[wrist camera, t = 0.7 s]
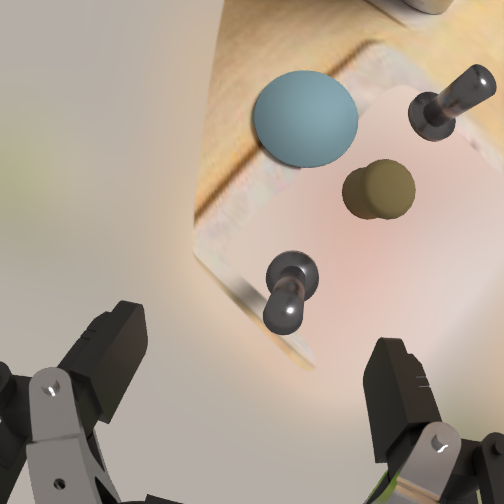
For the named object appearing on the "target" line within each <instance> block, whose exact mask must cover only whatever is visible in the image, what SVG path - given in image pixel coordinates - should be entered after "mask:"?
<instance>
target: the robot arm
mask: <svg viewBox="0 0 504 504" xmlns="http://www.w3.org/2000/svg"><path fill="white" fill-rule="evenodd" d="M403 1H404V2H406V3H407V4H409V5H410V6H412V7H413V8H415V9H418V10H420V11H423V12H426V13H430V14H440V13H443V12H445V11H446V10H447V9H448V8H449V6H450V5H451V3H452V2H453V0H403ZM147 345H148V336H147V329H146V322H145V314H144V308H143V305H142V304H138V303H133V302H128V301H120V302H119V303H118V304H117V305H116V306H115V308H114V309H113V310H112V312H107V311H106V312H104V313H103V314H101V315H100V316H98V317H96V318H95V319H94V320H93V321H92V322H91V323H90V325H89V326H88V327H87V330H85V331H84V332H83V334H82V335H81V337H80V338H79V339H78V340H77V341H76V343H75V344H74V345H73V346H72V348H71V349H70V350H69V352H68V353H67V354H66V356H65V357H64V358H63V360H62V361H61V362H60V364H59V365H58V366H57V367H49V368H45V369H42V370H40V371H38V372H37V373H36V374H35V375H34V376H33V377H26V376H18V375H12V373H11V371H10V369H9V367H8V366H7V365H6V364H5V363H3V362H0V420H1V423H0V504H7V501H8V499H9V497H10V494H11V492H12V490H13V487H14V485H15V483H16V481H17V479H18V476H19V474H20V472H21V470H22V468H23V466H24V464H25V462H26V460H27V461H28V468H29V474H30V479H31V485H32V490H33V494H34V499H35V504H182V503H178V502H174V501H170V500H166V499H163V498H159V497H155V496H152V495H149V494H147V496H146V500H145V501H129V502H121V500H120V497H119V495H118V493H117V491H116V489H115V487H114V485H113V483H112V481H111V479H110V476H109V474H108V471H107V468H106V465H105V462H104V459H103V456H102V453H101V449H100V447H99V443H98V440H97V436H96V432H95V429H94V426H95V425H96V423H97V421H98V420H99V421H102V422H105V423H107V424H109V423H110V421H111V419H112V417H113V415H114V413H115V411H116V409H117V407H118V405H119V403H120V401H121V399H122V397H123V395H124V393H125V392H126V390H127V387H128V386H129V384H130V382H131V380H132V378H133V376H134V374H135V372H136V370H137V369H138V367H139V364H140V363H141V361H142V359H143V357H144V355H145V353H146V349H147ZM363 387H364V393H365V398H366V404H367V410H368V416H369V422H370V428H371V435H372V441H373V448H374V455H375V463H387V464H388V470H387V471H386V472H385V473H384V475H383V476H382V478H381V479H380V481H379V482H378V484H377V485H376V487H375V488H374V489H373V491H372V492H371V494H370V495H369V496H368V498H367V499H366V501H365V502H364V503H363V504H478V499H477V493H476V491H477V490H478V489H480V495H481V500H482V504H504V435H503V434H501V433H497V432H494V433H490V434H488V435H487V436H486V437H485V438H484V439H483V440H482V441H481V442H478V441H472V440H466V439H461V438H460V435H459V433H458V432H457V431H456V430H455V428H453V427H452V426H451V425H449V424H447V423H444V422H442V419H441V417H440V413H439V410H438V407H437V405H436V402H435V399H434V396H433V393H432V391H431V388H429V382H428V380H427V378H426V374H425V372H424V369H423V367H422V364H421V363H420V362H419V361H418V360H417V358H416V357H415V356H414V355H413V354H408V353H407V351H406V348H405V346H404V343H403V341H402V339H398V338H382V337H381V338H380V339H378V341H377V343H376V345H375V348H374V350H373V352H372V355H371V357H370V359H369V361H368V364H367V366H366V368H365V371H364V376H363Z"/></svg>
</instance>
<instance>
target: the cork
mask: <svg viewBox="0 0 504 504" xmlns="http://www.w3.org/2000/svg"><path fill="white" fill-rule="evenodd" d="M415 191H416V189H415V184H414V180H413V178H412V176H411V173H410V172H409V171H408V170H407V169H406V168H405V166H403V165H401V164H399V163H398V162H396V161H393V160H389V159H383V160H377V161H375V162H373V163H371V164H369V165H368V166H367V167H364V168H359V169H357V170H354V171H352V172H351V174H349V175H348V176H347V178H346V180H345V182H344V184H343V189H342V196H343V201H344V203H345V205H346V207H347V209H348V210H349V211H350V212H351V213H352V214H353V215H355V216H357V217H359V218H362V219H367V220H368V219H375V218H382V219H395V218H398V217H400V216H402V215H404V214H405V213H406V212H407V211H408V209H409V208H410V207H411V205H412V203H413V201H414V199H415Z"/></svg>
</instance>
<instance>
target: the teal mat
mask: <svg viewBox="0 0 504 504" xmlns="http://www.w3.org/2000/svg"><path fill="white" fill-rule="evenodd" d="M254 124H255V129H256V132H257V135H258V137H259V139H260V141H261V142H262V144H263V145H264V146H265V148H266V149H267V150H268V151H269V152H270V153H271V154H272V155H273V156H274V157H276V158H277V159H279V160H281V161H282V162H284V163H287V164H289V165H292V166H296V167H303V168H313V167H319V166H324V165H326V164H329V163H331V162H333V161H335V160H336V159H338V158H339V157H341V156H342V155H343V154H344V153H345V152H346V151H347V149H348V148H349V147H350V145H351V144H352V142H353V140H354V138H355V135H356V132H357V128H358V113H357V109H356V106H355V103H354V101H353V99H352V97H351V95H350V94H349V92H348V91H347V90H346V89H345V88H344V87H343V86H342V85H341V84H340V83H339V82H338V81H336V80H335V79H333V78H331V77H329V76H327V75H325V74H322V73H319V72H315V71H294V72H290V73H287V74H284V75H282V76H280V77H278V78H276V79H275V80H273V81H272V82H270V83H269V84H268V85H267V86H266V87H265V89H264V90H263V91H262V93H261V94H260V96H259V98H258V100H257V102H256V106H255V111H254Z"/></svg>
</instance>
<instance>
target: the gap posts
mask: <svg viewBox="0 0 504 504" xmlns="http://www.w3.org/2000/svg"><path fill="white" fill-rule="evenodd" d="M496 88H497V87H496V82H495V79H494V77H493V75H492V74H491V73H490V71H489V70H488V69H486V68H485V67H483V66H481V65H478V64H475V65H472V66H471V67H470V68H469V69H467V70H466V71H465V72H464V73H463V74H462V75H460V76H459V77H458V78H457V79H456V80H455V81H454V82H452V83H451V84H450V85H449V86H448V87H447V88H445V89H444V90H443V91H442V92H441V93H440V94H436V93H433V92H424V93H421V94H419V95H418V96H417V97H416V98H415V99H414V100H413V101H412V102H411V103H410V106H409V109H408V117H409V121H410V123H411V126H412V128H413V129H414V131H415V132H416V133H417V134H418V135H419V136H421V137H422V138H424V139H426V140H428V141H434V142H436V141H440V140H443V139H445V138H447V137H448V136H450V135H451V134H452V132H453V131H454V128H455V123H456V120H455V117H457V116H459V115H460V114H462V113H464V112H465V111H467V110H469V109H471V108H472V107H474V106H476V105H477V104H479V103H481V102H482V101H484V100H486V99H488V98H489V97H491V96H493V95H494V94H495V92H496ZM318 282H319V274H318V269H317V266H316V264H315V262H314V261H313V260H312V259H311V258H310V257H309V256H308V255H306V254H305V253H303V252H299V251H287V252H283V253H281V254H280V255H278V256H277V257H276V258H275V259H274V260H273V261H272V262H271V264H270V265H269V267H268V270H267V273H266V283H267V287H268V289H269V291H270V293H271V295H270V298H269V300H268V302H267V304H266V306H265V309H264V311H263V321H264V323H265V325H266V327H267V328H268V329H269V330H270V331H271V332H273V333H275V334H278V335H288V334H291V333H293V332H295V331H296V330H297V329H298V328H299V327H300V326H301V323H302V320H303V308H304V301H306V300H308V299H309V298H310V297H311V296H312V295H313V294H314V292H315V291H316V289H317V287H318Z"/></svg>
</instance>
